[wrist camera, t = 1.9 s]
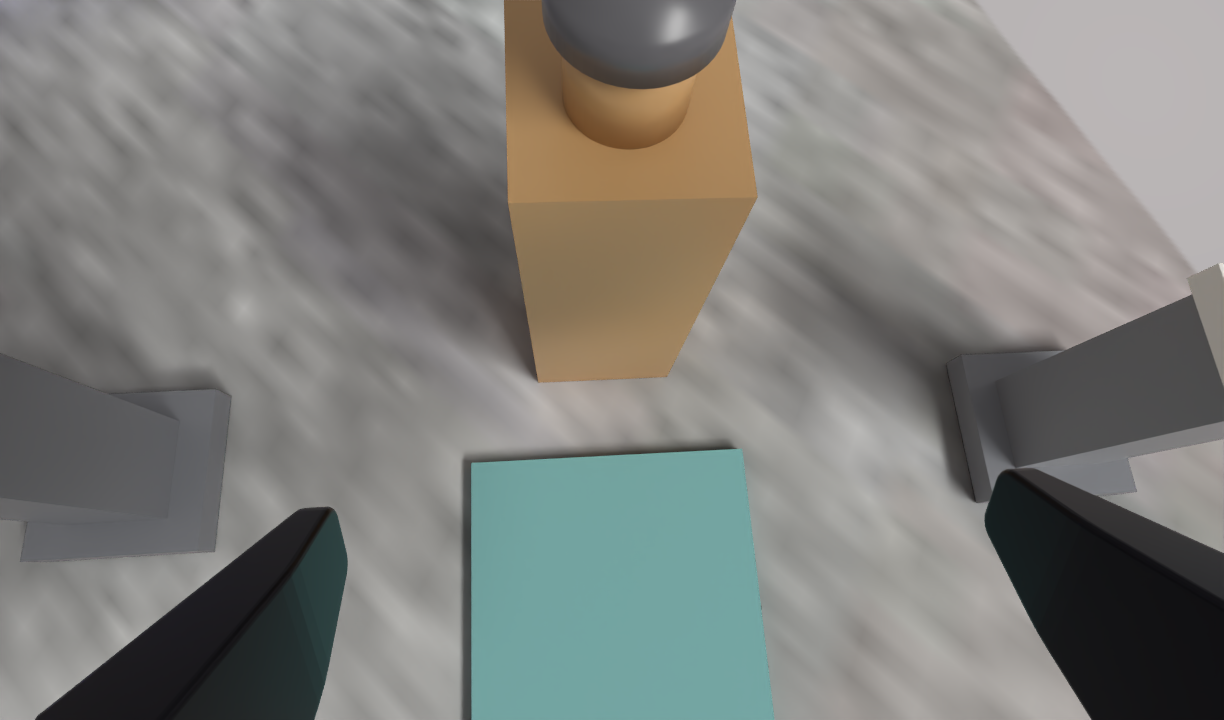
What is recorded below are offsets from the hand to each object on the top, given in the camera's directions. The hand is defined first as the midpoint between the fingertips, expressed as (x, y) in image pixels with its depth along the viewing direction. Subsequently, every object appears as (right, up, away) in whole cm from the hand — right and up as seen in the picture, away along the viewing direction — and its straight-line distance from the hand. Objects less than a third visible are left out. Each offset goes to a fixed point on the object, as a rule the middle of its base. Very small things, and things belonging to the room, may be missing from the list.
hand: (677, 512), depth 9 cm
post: (-16, -2, +13) cm, 20 cm away
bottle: (-1, +3, +15) cm, 15 cm away
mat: (-1, -6, +12) cm, 13 cm away
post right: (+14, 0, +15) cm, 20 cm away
